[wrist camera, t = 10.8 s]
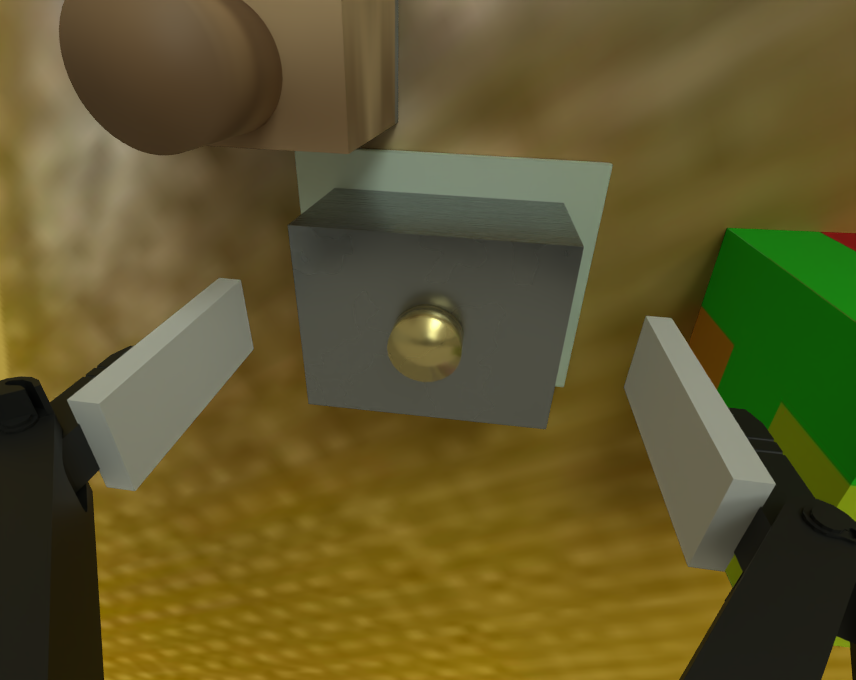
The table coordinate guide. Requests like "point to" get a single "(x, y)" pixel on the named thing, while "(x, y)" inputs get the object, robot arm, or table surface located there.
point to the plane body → (235, 71)
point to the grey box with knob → (434, 303)
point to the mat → (471, 191)
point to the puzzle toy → (788, 350)
